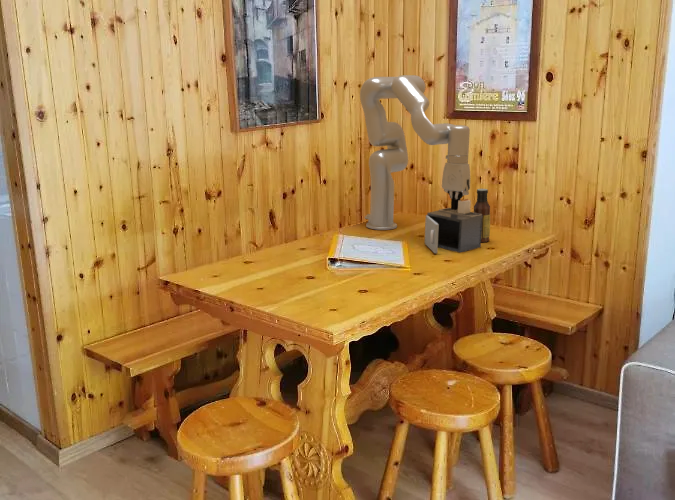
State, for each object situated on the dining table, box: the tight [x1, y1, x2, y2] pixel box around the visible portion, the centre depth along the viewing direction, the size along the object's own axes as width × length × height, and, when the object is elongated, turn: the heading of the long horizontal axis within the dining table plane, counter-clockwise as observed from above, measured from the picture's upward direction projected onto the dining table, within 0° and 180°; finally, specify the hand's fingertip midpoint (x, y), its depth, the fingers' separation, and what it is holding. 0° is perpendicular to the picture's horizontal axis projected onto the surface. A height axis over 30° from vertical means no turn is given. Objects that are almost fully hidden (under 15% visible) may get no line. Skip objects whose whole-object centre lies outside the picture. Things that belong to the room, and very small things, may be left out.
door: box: [424, 214, 439, 254], centre depth 257 cm, size 15×2×11 cm, turn 7°
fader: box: [458, 198, 472, 214], centre depth 261 cm, size 3×4×5 cm
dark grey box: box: [426, 207, 483, 254], centre depth 263 cm, size 16×12×12 cm
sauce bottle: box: [473, 188, 491, 243], centre depth 269 cm, size 7×6×20 cm
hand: (455, 209), depth 264 cm, fingers closed
